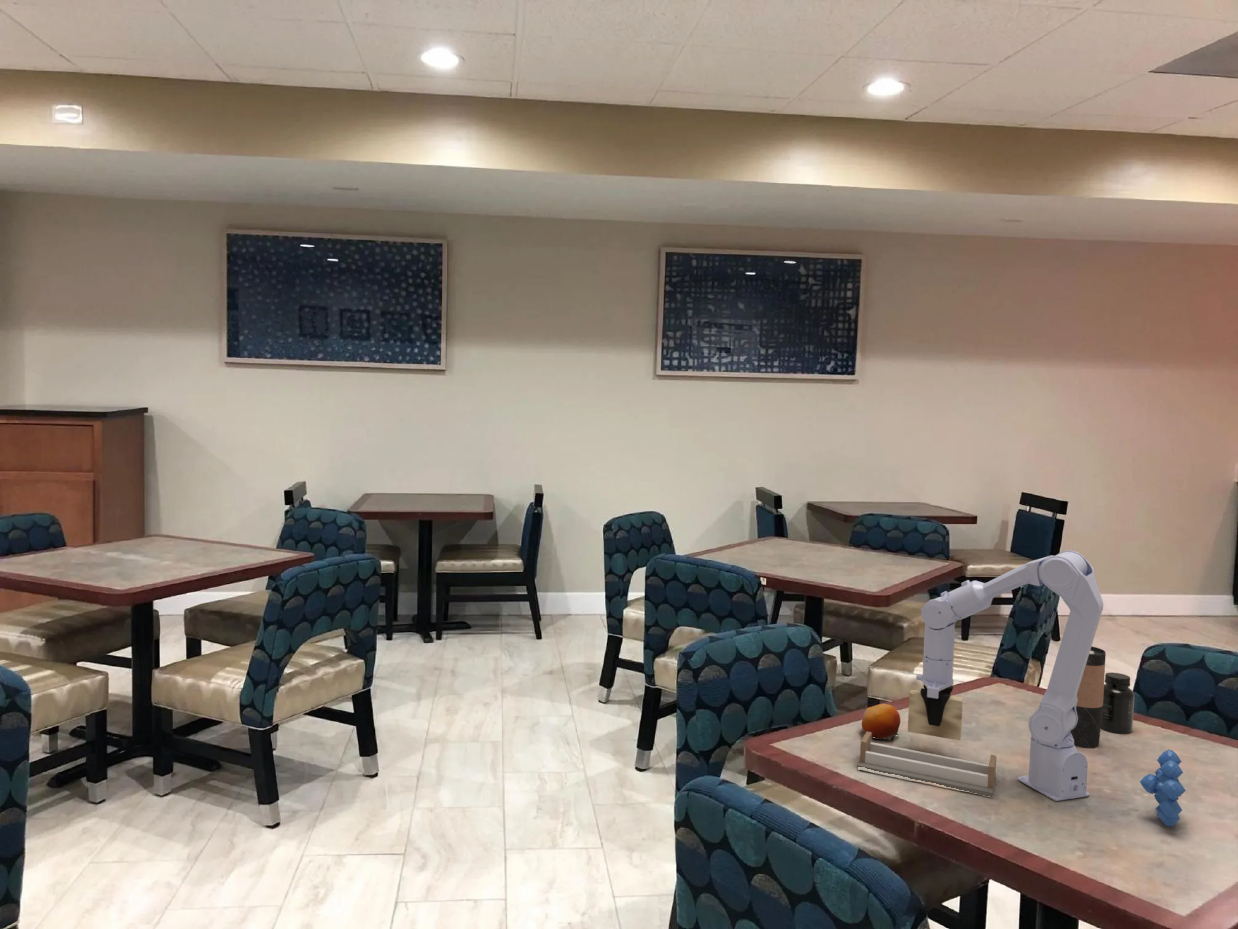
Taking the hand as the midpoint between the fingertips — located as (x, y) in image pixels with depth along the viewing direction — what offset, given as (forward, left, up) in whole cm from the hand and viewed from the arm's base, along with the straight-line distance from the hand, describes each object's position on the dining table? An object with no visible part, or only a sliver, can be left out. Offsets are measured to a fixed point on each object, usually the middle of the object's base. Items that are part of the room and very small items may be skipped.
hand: (935, 722), depth 177 cm
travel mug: (-3, -35, -7) cm, 36 cm away
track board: (-8, +8, -7) cm, 13 cm away
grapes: (-34, -20, -7) cm, 40 cm away
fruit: (+11, +5, -7) cm, 14 cm away
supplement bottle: (+1, -49, -7) cm, 50 cm away
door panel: (0, 0, -2) cm, 2 cm away
